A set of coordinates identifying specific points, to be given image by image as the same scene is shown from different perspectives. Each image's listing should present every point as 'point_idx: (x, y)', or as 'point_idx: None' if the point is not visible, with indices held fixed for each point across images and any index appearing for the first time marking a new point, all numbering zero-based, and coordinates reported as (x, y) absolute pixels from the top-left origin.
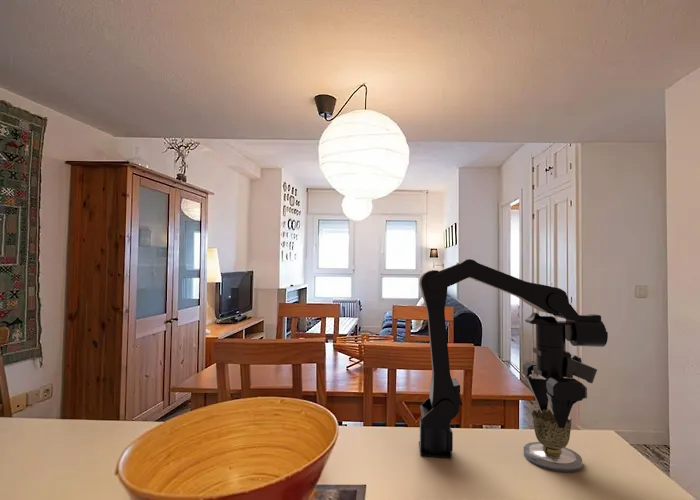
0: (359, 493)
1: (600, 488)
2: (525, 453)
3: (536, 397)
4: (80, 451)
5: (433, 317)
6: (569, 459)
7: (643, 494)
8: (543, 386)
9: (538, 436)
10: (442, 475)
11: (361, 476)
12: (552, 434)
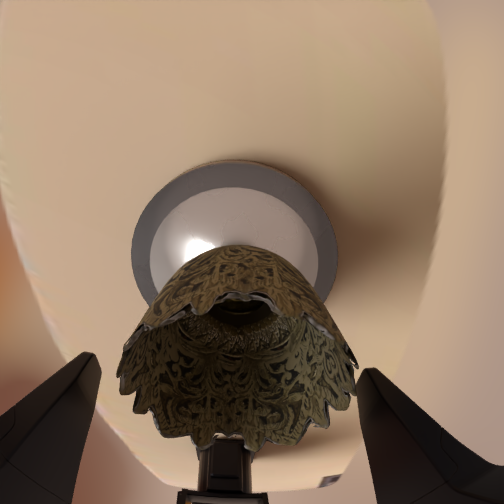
0: (339, 475)
1: (418, 204)
2: None
3: (81, 452)
4: None
5: None
6: (290, 232)
7: (446, 100)
8: (27, 491)
9: (256, 369)
10: (314, 446)
11: (306, 480)
12: (317, 365)
